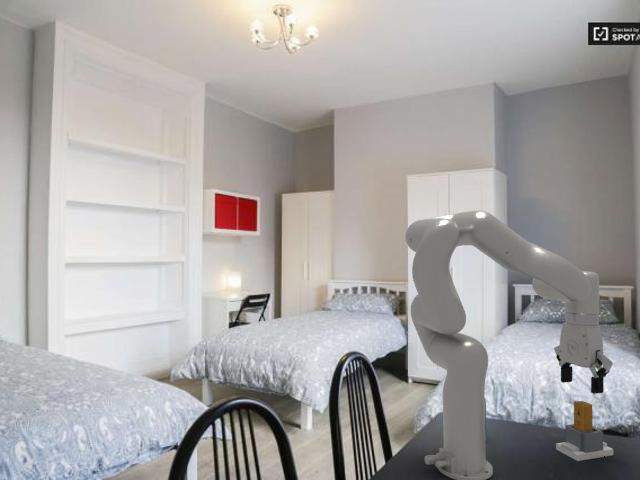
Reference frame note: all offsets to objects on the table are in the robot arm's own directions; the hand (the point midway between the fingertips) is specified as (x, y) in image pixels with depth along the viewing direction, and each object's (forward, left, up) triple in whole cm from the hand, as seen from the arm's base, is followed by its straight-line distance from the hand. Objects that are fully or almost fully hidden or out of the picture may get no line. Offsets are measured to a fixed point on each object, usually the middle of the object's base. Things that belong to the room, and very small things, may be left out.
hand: (581, 387), depth 122 cm
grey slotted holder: (+1, 0, -17) cm, 17 cm away
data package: (-19, +19, -17) cm, 32 cm away
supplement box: (0, 0, -14) cm, 14 cm away
